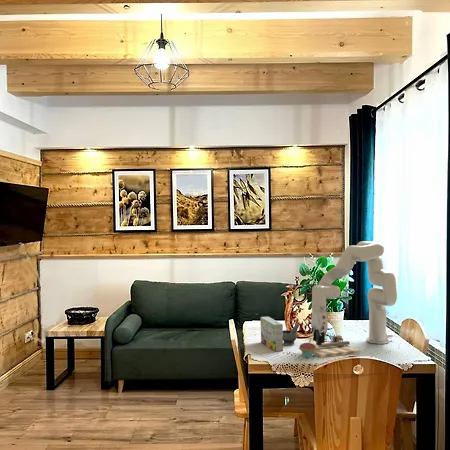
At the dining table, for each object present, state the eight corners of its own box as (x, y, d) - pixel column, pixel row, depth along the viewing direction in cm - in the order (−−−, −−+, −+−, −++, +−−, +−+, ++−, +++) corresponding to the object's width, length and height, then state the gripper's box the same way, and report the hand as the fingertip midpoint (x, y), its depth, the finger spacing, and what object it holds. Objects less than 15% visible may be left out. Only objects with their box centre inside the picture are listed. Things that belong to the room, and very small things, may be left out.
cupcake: (313, 354, 283) (314, 331, 283) (317, 358, 274) (317, 335, 274) (297, 354, 283) (298, 331, 282) (300, 358, 274) (300, 335, 274)
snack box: (259, 342, 308) (259, 316, 307) (268, 341, 310) (268, 316, 309) (274, 351, 288) (274, 324, 287) (283, 351, 289) (283, 323, 289)
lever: (347, 343, 296) (347, 326, 296) (350, 344, 294) (350, 327, 293) (315, 346, 289) (315, 329, 289) (317, 348, 286) (318, 330, 286)
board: (336, 343, 305) (336, 340, 305) (359, 353, 285) (359, 349, 284) (300, 347, 296) (300, 344, 296) (320, 357, 276) (320, 354, 276)
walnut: (340, 341, 303) (340, 335, 302) (344, 343, 299) (344, 337, 299) (335, 342, 301) (335, 336, 301) (338, 343, 298) (338, 337, 298)
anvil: (339, 340, 305) (339, 335, 305) (341, 341, 303) (341, 336, 303) (332, 341, 303) (332, 336, 303) (334, 342, 301) (334, 336, 301)
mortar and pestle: (280, 346, 300) (280, 325, 299) (279, 341, 309) (279, 321, 309) (300, 346, 299) (300, 325, 299) (298, 342, 309) (298, 321, 308)
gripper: (333, 310, 281) (333, 344, 281) (316, 305, 297) (316, 337, 297) (321, 311, 278) (321, 346, 279) (305, 306, 294) (304, 338, 295)
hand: (318, 341), depth 288 cm, fingers open, 5 cm apart
